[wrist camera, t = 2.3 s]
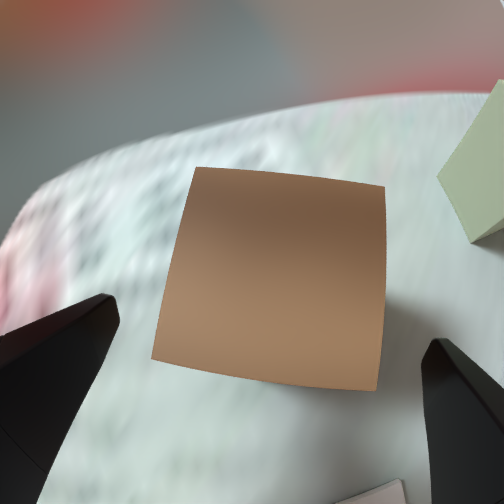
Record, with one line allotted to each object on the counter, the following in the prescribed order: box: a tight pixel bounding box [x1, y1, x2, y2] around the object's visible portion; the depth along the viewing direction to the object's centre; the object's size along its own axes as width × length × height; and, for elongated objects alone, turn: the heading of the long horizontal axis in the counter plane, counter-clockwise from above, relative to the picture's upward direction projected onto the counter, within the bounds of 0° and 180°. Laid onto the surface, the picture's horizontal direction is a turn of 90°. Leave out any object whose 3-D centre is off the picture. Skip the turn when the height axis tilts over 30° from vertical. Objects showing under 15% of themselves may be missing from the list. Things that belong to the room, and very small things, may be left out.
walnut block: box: [151, 167, 386, 391], centre depth 12 cm, size 6×6×10 cm
